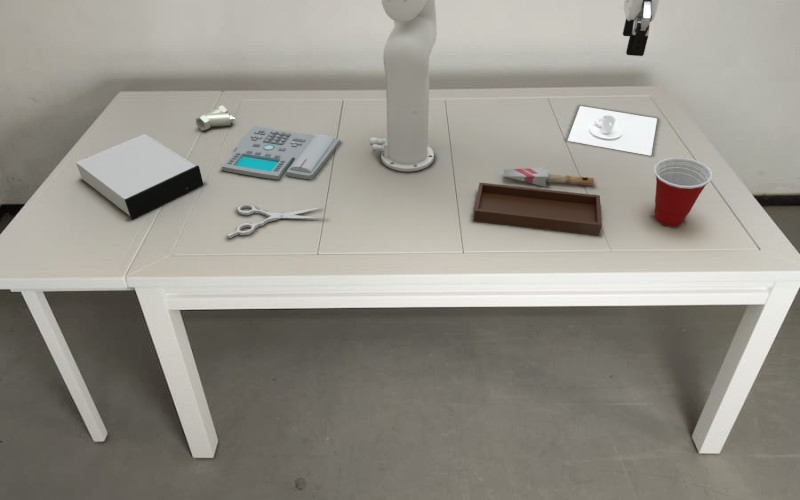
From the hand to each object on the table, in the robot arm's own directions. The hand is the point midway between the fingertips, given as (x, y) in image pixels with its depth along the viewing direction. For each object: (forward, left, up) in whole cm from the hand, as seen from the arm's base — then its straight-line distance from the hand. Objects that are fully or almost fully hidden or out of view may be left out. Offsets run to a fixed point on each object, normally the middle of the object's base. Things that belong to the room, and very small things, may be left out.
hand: (632, 45), depth 126 cm
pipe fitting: (-96, +6, -31) cm, 101 cm away
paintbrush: (-12, -4, -31) cm, 34 cm away
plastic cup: (+13, -13, -31) cm, 36 cm away
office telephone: (-75, -5, -31) cm, 81 cm away
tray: (-14, -16, -31) cm, 38 cm away
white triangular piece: (+4, +24, -31) cm, 40 cm away
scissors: (-67, -29, -31) cm, 79 cm away
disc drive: (-102, -22, -31) cm, 109 cm away
